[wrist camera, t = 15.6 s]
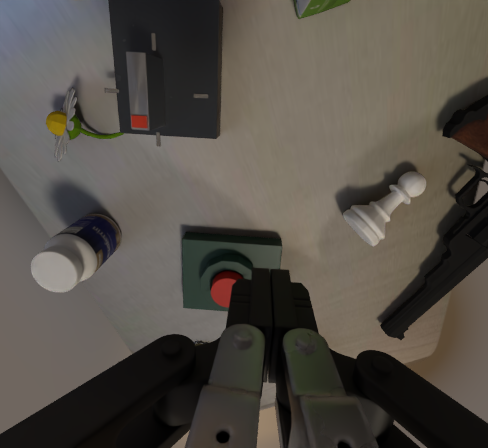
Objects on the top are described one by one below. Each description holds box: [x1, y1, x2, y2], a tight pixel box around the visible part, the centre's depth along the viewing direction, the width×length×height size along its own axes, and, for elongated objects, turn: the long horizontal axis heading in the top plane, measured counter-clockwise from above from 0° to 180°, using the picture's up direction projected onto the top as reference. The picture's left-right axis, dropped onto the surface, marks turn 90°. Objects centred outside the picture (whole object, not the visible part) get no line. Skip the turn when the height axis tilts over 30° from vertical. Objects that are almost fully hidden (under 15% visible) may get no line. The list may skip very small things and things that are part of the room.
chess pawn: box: [343, 171, 426, 246], centre depth 35 cm, size 5×5×9 cm
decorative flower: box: [46, 88, 124, 162], centre depth 33 cm, size 8×6×15 cm
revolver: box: [380, 95, 488, 340], centre depth 36 cm, size 29×4×15 cm
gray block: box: [126, 52, 165, 131], centre depth 29 cm, size 6×2×5 cm, turn 177°
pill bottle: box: [31, 214, 121, 292], centre depth 36 cm, size 6×6×10 cm
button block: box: [182, 232, 282, 311], centre depth 40 cm, size 12×10×4 cm
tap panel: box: [104, 0, 223, 146], centre depth 32 cm, size 11×13×3 cm
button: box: [211, 271, 243, 307], centre depth 37 cm, size 4×4×2 cm
